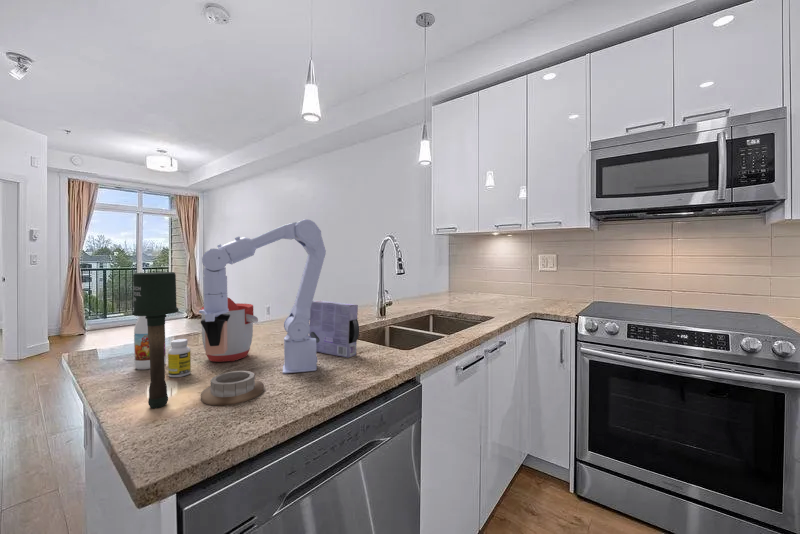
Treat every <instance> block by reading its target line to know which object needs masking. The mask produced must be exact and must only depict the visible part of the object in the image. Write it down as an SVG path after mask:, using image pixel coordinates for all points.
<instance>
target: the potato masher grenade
mask: <svg viewBox="0 0 800 534" xmlns="http://www.w3.org/2000/svg"><path fill="white" fill-rule="evenodd" d="M176 275H177V274H176V272H173V271H154V272H153V271H150V272H136V273H133V274H132V278H133V280H132V282H133V283H132V286H133V289H132V290H133V311H132V312H131V316H133V317H134V316H135V317H139V316H146V317H145V318H146V319H147V326H148V342H149V345H150V369H149V372H150V373H149V374H150V375H149V376H150V377H149V378H150V384H149V387H148V401H147V402H148V407H150V408H151V409H159V408H163V407H164V406H166V405H167V404H168V401H169V397H168V396H169V395H168V388H167V383H166V382H167V381H166V374H165V373H166V371H165V369H166V368H165V365H166V363H165V364H164V341H165V342H166V318H167V315H172V314H175V313H179V312H180V311H179V308H178V307H177V306H178V305H177V280H176V279H177V276H176Z"/></svg>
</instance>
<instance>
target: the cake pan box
mask: <svg viewBox="0 0 800 534" xmlns="http://www.w3.org/2000/svg"><path fill="white" fill-rule="evenodd" d="M358 308H359V307H358V304H355V303H354V304H353V303H347V302H346V303H344V302H337V301H329V300H328V301H327V300H319V299H316V300H315V299H314V300H313V301H312V305H311V308H310V320H309V325H310V332H309V338H316V353H317V352H318V353H322V354H325V355H326V354H327V355H329V356H330V355H331V356H336V357H337V356H339V357H343V358H347V359H350V358H352V357H355V356H357V341H358V339H359V336H360V325H359V320H358V312H359V311H358Z"/></svg>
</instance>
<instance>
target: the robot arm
mask: <svg viewBox="0 0 800 534" xmlns="http://www.w3.org/2000/svg"><path fill="white" fill-rule="evenodd" d="M279 240H295V241H297V243H298V244H300V245H301V246H302V248H303V249H304V250H305V252H306V254H307V257H306V261H305V264H304V267H303V272H302V275H301V279H300V282H299V286H298V289H297V292H296V296H295V301H294V303H293V306H292V308H291V309H290V311H289V312H290V313H289V315H288V316H287V317H286V318H285V320H284V321H283V328H284V330H285V332H286V335H285V336H284V338H283V349H284V350H283V351H284V352H283V355H284V357H283V358H284V360H283V361H284V363H283V366H282V374H291V373H292V374H293V373H305V372H315V371H318V370H317V369H318V366H317V365H318V364H317V363H318V356H317V352H316V338H309V332H310V308H311V305H312V301H314V297H315V293H316V290H317V287H318V283H319V279H320V275H321V272H322V268H323V265H324V260H325V259H326V255H327V253H326V251H327V250H326V247H325V243H324V240H323V237H322V230H321V228H320V227H319V226H318V225H317V223H316V222H315V221H313V220H311V219H306V218H305V219H302V220H299V221H295V222H290V223H288V224H287V223H286V224H283V225H281V226H278V227H276V228H273V229H271V230H269V231H266V232H265V233H262V234H259V235H258V236H255V237H253V238H249V237H247V236H242V237H241V236H236V237H234V240H233V241H229V242H227V243H225V244H221V243H220V244H217V246H216V248H215V247H214V248H210V249H209V250H207V251H206V252H204V254H203V255H202V257H201V262H202V265H203V266H204V268H203V279H202V280H203V281H202V283H203V307H204V310H200V309H199V310H198V314H202V313H203V314H204V315H205V319H202V318H201V319H200V324H201V327H202V326H203V327H204V329H205V331H206V334H207V337H208V341H209V344H210V346H219V343H220V338H221V331H222V327H223V324H224V322H225V321H227V322H228V319H229V318H230V314H224V313H227V312H229V309H228V298H229V297H228V276H227V275H226V274H227V269H226V266H227V265H228V264H229V265H233V264H236V263H239V262H241V261H244V260H246V259H248V258H250V257H252V256H253V257H254V255H255V253H256V251H257V249H259V248H262V247H264V246H267V245H270V244H273V243H275V242H277V241H279Z"/></svg>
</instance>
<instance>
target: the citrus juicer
mask: <svg viewBox="0 0 800 534" xmlns="http://www.w3.org/2000/svg"><path fill="white" fill-rule="evenodd" d="M228 309H229V312H227V313H224V314H230V318H229V319H228V322H227V347H228V350H227V351H226V352H225V354H214V355H206V356H207V358H208V361H210V362H217V363H218V362H219V363H223V362H236V361H237V360H240V359H244V358H246V357H247V356H248V355H249V352H250V350H251V345H252V342H253V336H254V335H253V333H254V324H256V323H257V324H258V322H259V319H258V317H257V315H254V304H251V303H238V302H237V303H235V301H234V300H232V299H231V298H230V297H228ZM200 310H204V306H202V307H201V308H200V309H199V311H200ZM202 319H205V315H204V314H203V313H201V320H202ZM201 338H202V340H201V341H202V345H203V349H204V351H205V329H204V327H203V326H202V325H201ZM205 353H206V351H205ZM235 360H236V361H235Z"/></svg>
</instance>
